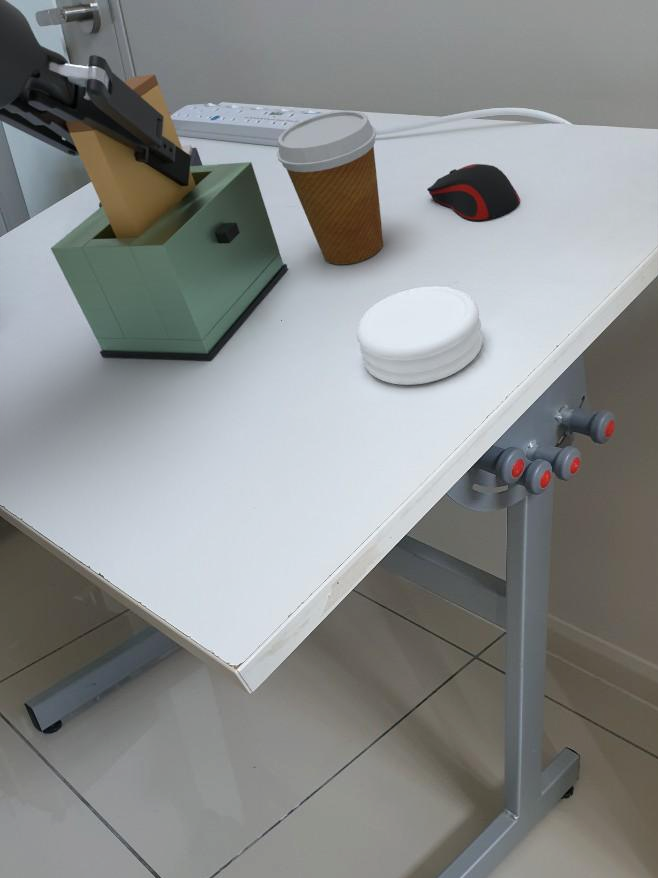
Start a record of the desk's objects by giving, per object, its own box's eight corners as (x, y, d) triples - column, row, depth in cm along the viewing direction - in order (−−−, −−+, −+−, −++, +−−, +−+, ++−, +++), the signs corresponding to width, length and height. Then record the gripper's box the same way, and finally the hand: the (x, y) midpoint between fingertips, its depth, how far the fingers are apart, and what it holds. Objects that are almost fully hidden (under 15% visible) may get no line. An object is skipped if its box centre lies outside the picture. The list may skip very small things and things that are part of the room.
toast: (122, 251, 77) (64, 122, 69) (179, 199, 83) (131, 76, 76) (145, 250, 76) (89, 119, 68) (200, 198, 82) (155, 73, 75)
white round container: (424, 309, 77) (417, 273, 75) (508, 339, 71) (503, 300, 69) (340, 365, 73) (330, 329, 71) (422, 402, 67) (413, 363, 65)
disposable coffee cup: (359, 279, 84) (327, 153, 76) (289, 266, 89) (252, 147, 81) (417, 233, 88) (393, 110, 80) (348, 223, 94) (318, 106, 86)
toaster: (102, 357, 83) (47, 249, 75) (187, 270, 93) (146, 168, 86) (220, 361, 78) (173, 246, 70) (296, 269, 88) (263, 160, 81)
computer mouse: (469, 178, 96) (464, 141, 93) (531, 202, 88) (527, 162, 86) (422, 200, 94) (415, 163, 91) (481, 226, 87) (475, 187, 84)
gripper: (-134, 98, 61) (101, 216, 83) (34, 77, 55) (239, 209, 77) (-125, -10, 61) (108, 136, 83) (44, -43, 55) (247, 124, 77)
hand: (171, 171), depth 80 cm, fingers closed on toast, 2 cm apart
